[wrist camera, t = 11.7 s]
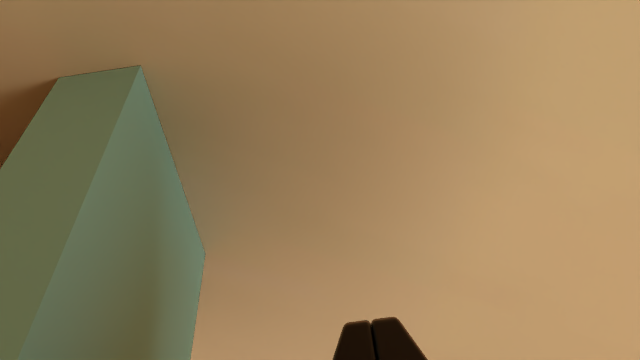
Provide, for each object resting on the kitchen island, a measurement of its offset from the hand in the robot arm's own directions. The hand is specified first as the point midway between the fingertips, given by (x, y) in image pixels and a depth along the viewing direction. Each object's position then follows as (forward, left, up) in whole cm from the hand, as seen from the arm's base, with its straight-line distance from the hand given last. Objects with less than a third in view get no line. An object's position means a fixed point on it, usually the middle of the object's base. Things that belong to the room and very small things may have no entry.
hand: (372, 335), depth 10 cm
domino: (+1, +4, -5) cm, 6 cm away
